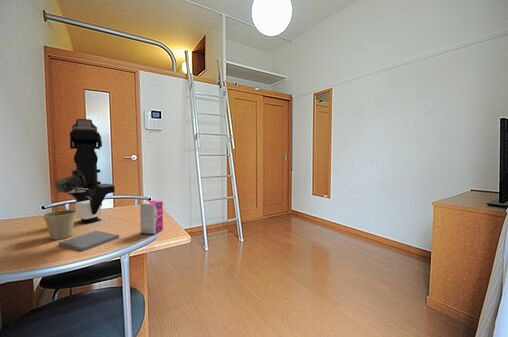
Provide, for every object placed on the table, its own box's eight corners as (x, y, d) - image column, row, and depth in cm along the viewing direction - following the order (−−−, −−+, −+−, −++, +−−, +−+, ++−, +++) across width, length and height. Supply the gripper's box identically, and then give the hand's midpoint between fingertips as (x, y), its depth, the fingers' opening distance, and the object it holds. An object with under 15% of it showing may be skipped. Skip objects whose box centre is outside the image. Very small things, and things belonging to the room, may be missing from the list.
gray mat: (58, 245, 76) (58, 242, 75) (96, 233, 87) (96, 230, 87) (82, 251, 71) (82, 247, 71) (119, 237, 82) (119, 235, 82)
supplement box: (154, 235, 85) (153, 204, 84) (140, 234, 86) (138, 203, 85) (163, 230, 90) (162, 200, 89) (150, 229, 91) (149, 200, 91)
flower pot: (49, 243, 77) (48, 218, 76) (39, 238, 82) (37, 214, 81) (82, 235, 85) (81, 211, 84) (71, 230, 90) (70, 208, 89)
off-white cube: (76, 217, 77) (75, 202, 77) (91, 213, 82) (91, 199, 81) (86, 219, 75) (85, 203, 75) (101, 215, 80) (100, 200, 79)
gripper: (40, 167, 73) (43, 216, 74) (78, 169, 66) (81, 223, 67) (78, 165, 83) (80, 208, 85) (115, 167, 76) (116, 214, 77)
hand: (88, 213), depth 78 cm, fingers closed on off-white cube, 5 cm apart
